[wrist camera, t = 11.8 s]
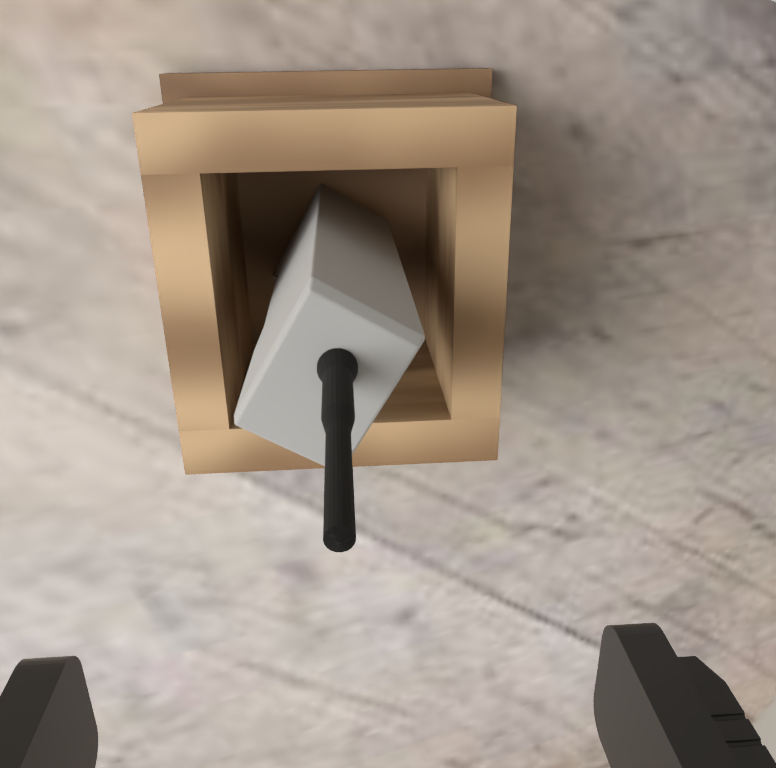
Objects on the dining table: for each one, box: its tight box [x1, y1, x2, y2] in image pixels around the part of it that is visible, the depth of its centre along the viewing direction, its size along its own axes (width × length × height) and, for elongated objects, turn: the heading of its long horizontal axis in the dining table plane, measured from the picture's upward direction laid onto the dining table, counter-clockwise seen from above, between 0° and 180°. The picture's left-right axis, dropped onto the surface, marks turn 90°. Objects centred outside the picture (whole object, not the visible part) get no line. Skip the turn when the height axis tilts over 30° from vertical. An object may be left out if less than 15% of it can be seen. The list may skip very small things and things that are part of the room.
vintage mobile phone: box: [234, 184, 425, 552], centre depth 25 cm, size 4×5×25 cm
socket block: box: [132, 68, 517, 474], centre depth 33 cm, size 16×15×11 cm
